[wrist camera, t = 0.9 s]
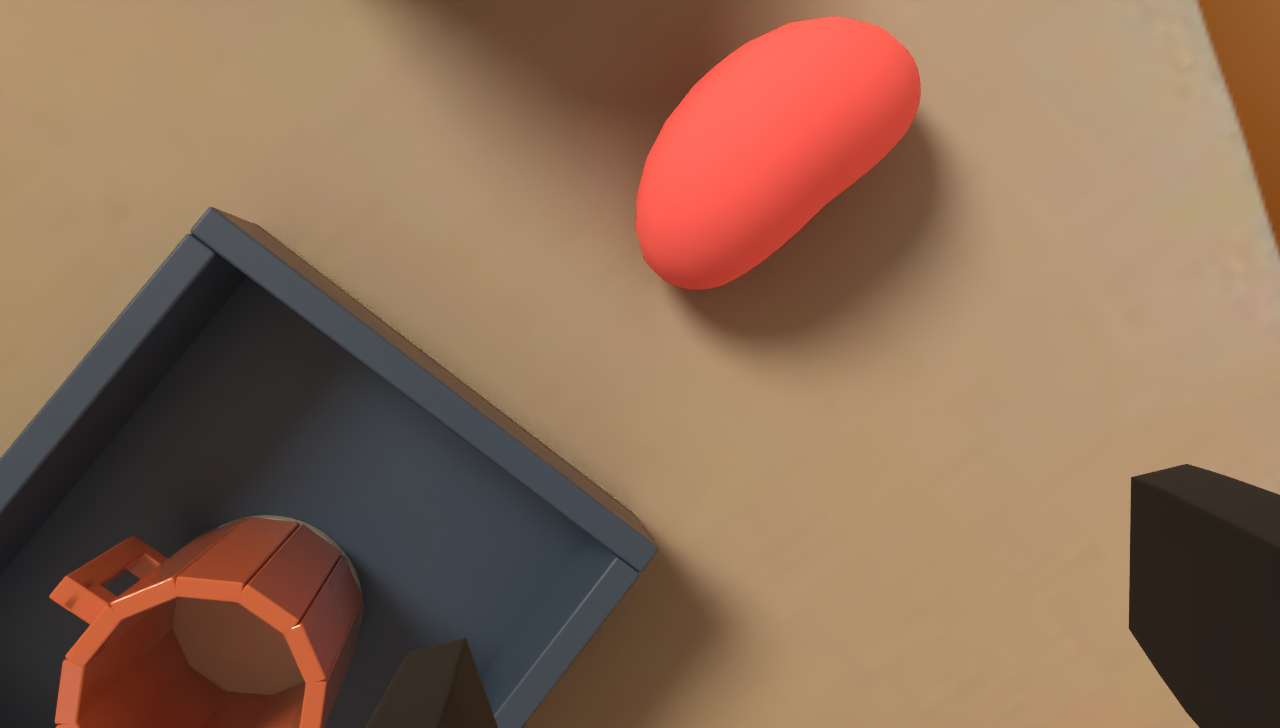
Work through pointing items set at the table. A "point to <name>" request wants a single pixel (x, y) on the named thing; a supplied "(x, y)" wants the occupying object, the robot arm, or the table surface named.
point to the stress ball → (770, 145)
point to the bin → (305, 479)
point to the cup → (212, 631)
